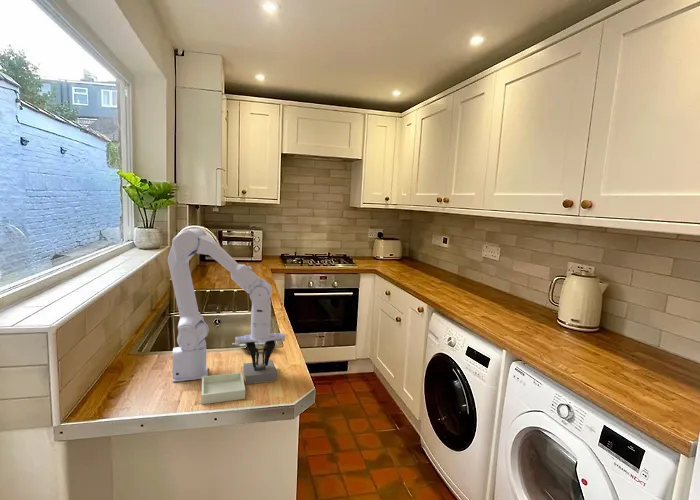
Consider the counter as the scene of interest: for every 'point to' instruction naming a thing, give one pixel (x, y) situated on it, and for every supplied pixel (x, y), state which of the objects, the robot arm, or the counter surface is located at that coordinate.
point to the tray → (222, 388)
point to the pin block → (259, 373)
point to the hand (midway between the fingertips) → (260, 365)
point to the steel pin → (260, 358)
